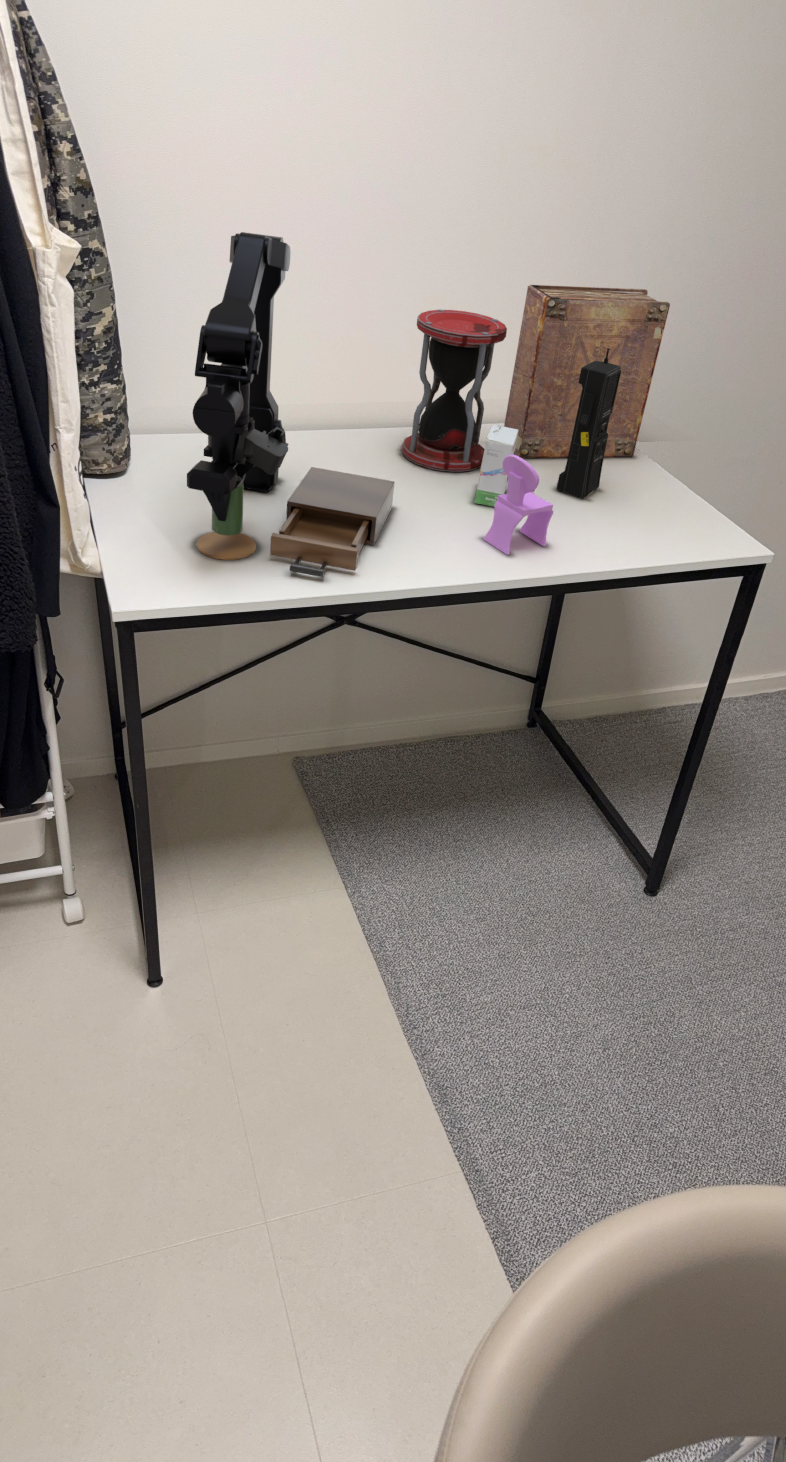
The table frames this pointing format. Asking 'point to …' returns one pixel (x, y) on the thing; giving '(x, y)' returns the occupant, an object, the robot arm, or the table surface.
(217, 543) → the coaster
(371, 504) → the cabinet
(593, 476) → the portable radio
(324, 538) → the drawer
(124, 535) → the table surface
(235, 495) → the can
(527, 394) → the book
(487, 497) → the ink box
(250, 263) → the robot arm
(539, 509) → the toy chair
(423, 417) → the hourglass
